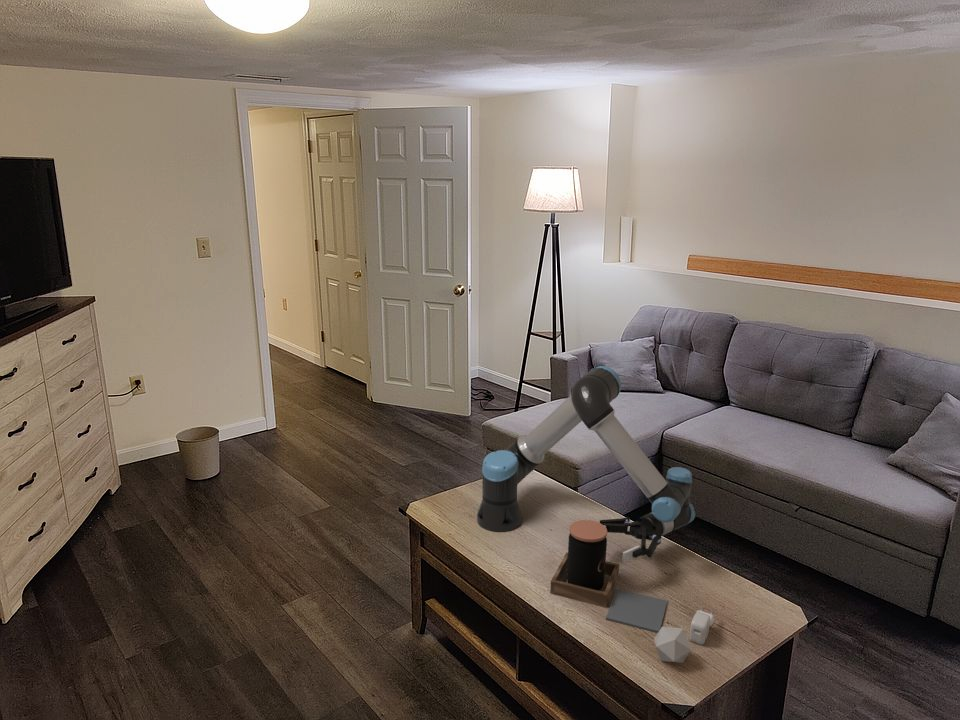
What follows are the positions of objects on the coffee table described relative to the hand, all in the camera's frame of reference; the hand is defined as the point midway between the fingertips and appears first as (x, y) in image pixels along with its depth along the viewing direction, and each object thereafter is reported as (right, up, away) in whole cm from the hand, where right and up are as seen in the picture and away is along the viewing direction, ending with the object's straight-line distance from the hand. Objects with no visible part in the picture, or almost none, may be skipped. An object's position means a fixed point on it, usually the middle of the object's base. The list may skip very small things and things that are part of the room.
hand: (605, 546), depth 196 cm
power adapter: (+21, -17, -20) cm, 34 cm away
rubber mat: (+6, -14, -12) cm, 20 cm away
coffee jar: (-6, -11, 0) cm, 13 cm away
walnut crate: (-6, -11, 0) cm, 12 cm away
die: (+11, -20, -29) cm, 37 cm away
